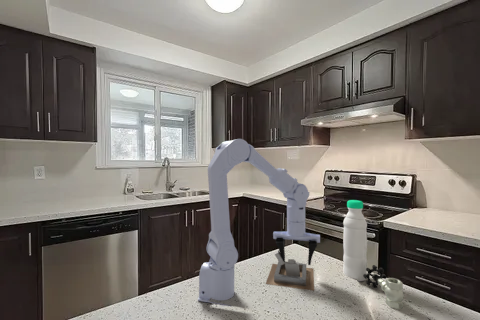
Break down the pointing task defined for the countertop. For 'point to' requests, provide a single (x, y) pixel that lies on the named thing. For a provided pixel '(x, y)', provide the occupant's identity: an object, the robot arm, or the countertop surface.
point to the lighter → (289, 265)
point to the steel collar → (290, 279)
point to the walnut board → (283, 272)
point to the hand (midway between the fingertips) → (296, 262)
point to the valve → (387, 287)
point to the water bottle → (355, 241)
